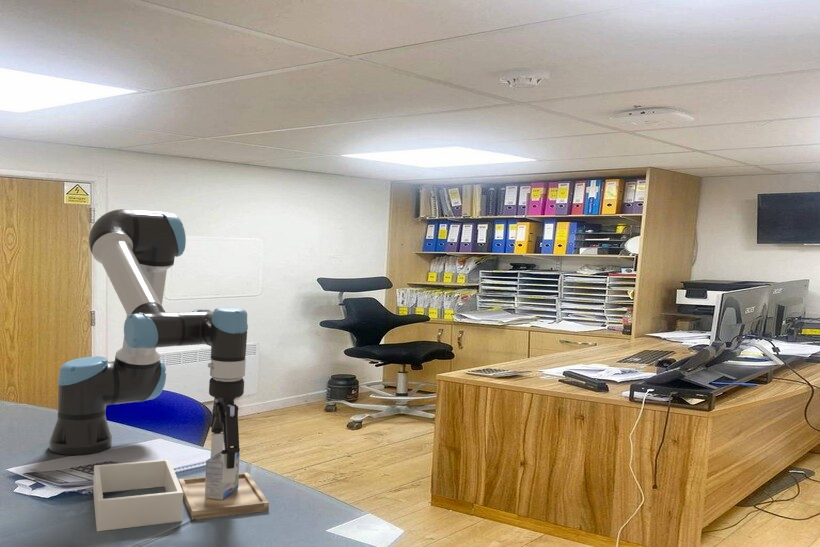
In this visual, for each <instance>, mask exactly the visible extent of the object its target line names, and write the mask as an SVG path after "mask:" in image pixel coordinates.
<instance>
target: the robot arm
mask: <svg viewBox="0 0 820 547" xmlns="http://www.w3.org/2000/svg"><path fill="white" fill-rule="evenodd" d="M186 240H187V237H186V230H185V227H184V224H183V222H182V220H181V218H180V217H179V216H177V215H176V214H175V213H171V212H165V211H160V210H159V211H156V210H155V211H154V210H135V209H133V210H132V209H124V208H123V209H114V210H111V211H108V212H106V213H104V214H103V215H101V216H100V217H99V218H97V220H96V221H95V222H94V224H93V225H92V227H91V229H90V231H89V235H88V246H89V250H90V253H91V255H92V257H93V258H94V260H95V261H96V262H98V263H100V264H101V265H102V267H103V268H104V271H105V273H106V275H107V277H108V279H109V281H110V282H111V284H112V287H113V289H114V291H115V293H116V295H117V297H118V299H119V302H120V303H121V305H122V307H123V309H124V312H125V313H126V318H125V320H124V324H123V341H122V342H123V343H122V347H121V348H120V349H117V351H116V352H115V356H114V357H115V358H114V361H108V359H107V357H105V356H98V355H97V356H85V357H79V358H75V359H71V360H69V361H67V362H64V363H63V364H62V365H61V366H60V368H59V371H58V379H57V384H58V388H57V389H58V390H57V395H58V396H57V419H56V421H55V424H54V427H53V429H52V433H51V435H50V438H49V440H48V442H49V444H48V448H49V449H48V450H49V451H51V452H52V453H54V454H59V455H67V456H68V455H71V456H74V455H75V456H78V455H89V454H94V453H98V452H103V451H106V450H107V449H109V448H110V447H112V445H113V443H112V442H113V441H112V440H113V439H112V438H113V437H112V436H113V435H112V433H111V430H110V426H109V424H108V420H107V416H106V411H107V410H106V409H107V406H111V405H120V404H127V403H128V404H131V403H143V402H145V401H149V400H154V399H156V398H158V397H159V396H160V395H161V393H162V392H163V390H164V388H165V385H166V379H167V373H166V370H167V368H166V364H165V363H164V360H163V359H162V358H161V355H160V353H158V351H157V350H156V349H157V348H168V347H182V346H198V345H206V346H209V347H210V362H209V363H207V367H208V368H209V369H210V371H209V375H210V379H209V381H208V382H209V384H208V386H209V387H208V394H209V396H210V397H213V398H214V400H213V405H212V412H211V418H210V423H209V426H210V428H211V439H210V441H211V442H210V444H211V445H210V458H212V457H213V456H215V455H217V454H218V453H220V452H221V451H222V452H221V453H222V454H223V468H222V483H228V482H235V475H236V457H237V453H240V450H241V448H240V437H239V436H240V433H239V407H238V405H237V404H235V399H236V398H240V397H242V396H243V395H244V392H245V379H244V377H245V376H246V362H247V361H246V360H247V359H246V356H247V355H246V354H247V342H248V341H247V340H248V339H247V338H248V329H249V325H248V313H247V311H246V310H245V309H244V308H237V307H229V306H228V307H227V306H226V307H223V306H222V307H217V308H215V309H214V310H213V311H212V310H210V309H195V310H193V311H183V312H166V310H165V309H164V307H163V300H164V295H165V294H164V293H165V292H164V291H165V287H166V286H165V285H166V278H167V272H168V269H170V268H172V267H173V266H174V265H175V264H174V263H175V258H178V257H180V256H182V255H183V254H184V252H185V250H186V243H187V241H186Z"/></svg>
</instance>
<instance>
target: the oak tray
mask: <svg viewBox="0 0 820 547" xmlns="http://www.w3.org/2000/svg"><path fill="white" fill-rule="evenodd" d="M205 476H206V475H204V476H196V477H187V478H186V477H185V478H184V477H183V478H178V481H179V484H180V486H181V488H182V491H183V502H184V504H185V505H186V509H187V508H188V509H187V511H188V514H189V513H190V514H189V516H190V518H191V520H192V521H194V520H193V519H196V520H202V519H203V518H204V519H210V518H211V517H212V518H219V517H220V516H221V517H227V516H226V515H229V516H235V515H236V514H237V515H245V514H251V513H252V514H253V513H261V512H268V511H270V510H269V508H270V503H269V502H270V501H268V499H267V497H266V496H265V495H264V493H263V492H262V490H261V488H259V486H258V484H257V483H256V482H255V480H254V479H253V478H252V476H251V475H250V474H249V472H239V483H238V489H237V490H235V491H234V492H233V493H231V494H230V495H229V496H228V497H226V498H225V499H224V500H216V499H209V498H205ZM218 516H219V517H218ZM204 519H203V520H204Z"/></svg>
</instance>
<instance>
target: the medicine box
mask: <svg viewBox="0 0 820 547" xmlns="http://www.w3.org/2000/svg"><path fill="white" fill-rule="evenodd" d="M221 452H222V451H221ZM221 452H220V453H218V454H217V455H215V456H213V457H212V458H211V457H210V458H208V459H207V460H206V461H205V475H204V476H205V498H209V499H216V500H224V499H225V498H226V497H228V496H229V495H230V494H231V493H233V492H234V491H235V490H237V489H238V483H239V473H240V452H239V453H237V457H236V475H235V482H228V483H222V468H223V454H222V453H221Z"/></svg>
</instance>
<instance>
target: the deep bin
mask: <svg viewBox="0 0 820 547" xmlns="http://www.w3.org/2000/svg"><path fill="white" fill-rule="evenodd" d="M92 487H93V488H92V489H93V490H92V491H93V503H94V504H93V505H94V513H95V514H94V516H95V526H96V527H95V528H96V532H103V531H111V530H120V529H129V528H137V527H145V526H152V525H153V526H154V525H160V524H161V525H162V524H163V525H164V524H168V523H169V524H171V523H177V522H178V523H179V522H182V521H183V508H184V506H183V504H184V499H183V491H182V488H181V486H180V484H179V478H178V477H177V475H176V472H175V469H174V467H173V464H172V462H171V460H170V458H168V459H167V458H165V459H156V460H145V461H142V460H141V461H132V462H122V463H121V462H120V463H107V464H98V465H93V486H92ZM160 487H161V488H162V487H164V489H165V492H158V493H147V494H140V495H128V496H119V497H118V496H117V497H110V498H104V494H103V493H111V492H122V491H131V490H133V491H134V490H143V489H152V488H160Z"/></svg>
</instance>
